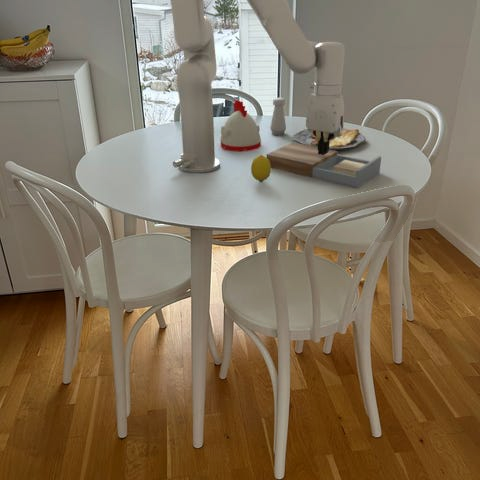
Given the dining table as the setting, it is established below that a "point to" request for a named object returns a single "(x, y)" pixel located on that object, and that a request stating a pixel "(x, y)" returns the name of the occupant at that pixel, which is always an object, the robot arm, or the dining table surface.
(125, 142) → the dining table surface
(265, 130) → the dining table surface
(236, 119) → the kitchen timer
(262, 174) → the lemon
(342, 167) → the tile
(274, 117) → the salt shaker
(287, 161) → the wooden square board
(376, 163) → the box
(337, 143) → the food plate
